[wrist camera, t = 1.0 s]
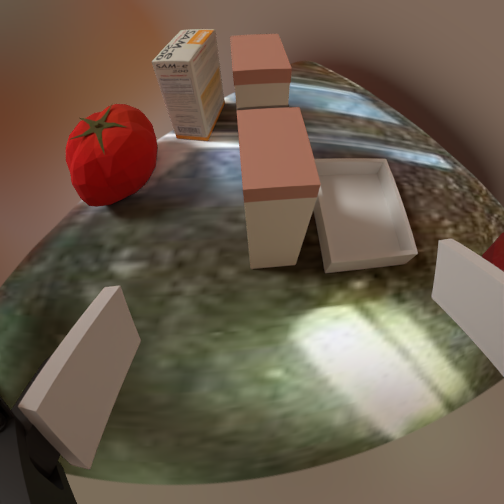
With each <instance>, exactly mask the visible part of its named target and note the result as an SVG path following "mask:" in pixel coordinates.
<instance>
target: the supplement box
mask: <svg viewBox="0 0 504 504" xmlns="http://www.w3.org/2000/svg"><path fill="white" fill-rule="evenodd" d="M152 64H153V67H154V71H155V74H156V77H157V80H158V83H159V86H160V89H161V92H162V95H163V98H164V102H165V104H166V108H167V111H168V114H169V117H170V119H171V122H172V126H173V129H174V131H175V134H176V137H177V138H179V139H192V140H203V141H208V140H209V137H210V135H211V133H212V131H213V128H214V126H215V124H216V122H217V120H218V117H219V115H220V113H221V111H222V108H223V107H224V104H225V101H224V94H223V87H222V79H221V71H220V63H219V56H218V48H217V40H216V32H215V29H193V30H181V31H180V32H179V33H178V34H177V35H176V36H175V37H174V38H173V39H172V41H170V42H169V43H168V45H166V47H165V48H164V49H163V50H162V51H161V52H160V53H159V54H158V56H156V58H155V59H154V60H153V61H152Z"/></svg>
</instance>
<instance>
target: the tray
mask: <svg viewBox="0 0 504 504" xmlns="http://www.w3.org/2000/svg"><path fill="white" fill-rule="evenodd" d="M314 160H315V164H316V168H317V172H318V176H319V180H320V184H321V185H320V189H319V192H318V195H317V199H316V202H315V205H314V208H313V211H314V216H315V221H316V226H317V232H318V237H319V242H320V248H321V253H322V259H323V265H324V271H325V273H333V272H342V271H351V270H360V269H368V268H377V267H385V266H393V265H401V264H406V263H407V262H408V261H410V260H411V259H412V258H413V257H415V256H416V255H417V254H418V252H417V248H416V245H415V241H414V238H413V234H412V231H411V227H410V224H409V221H408V218H407V215H406V212H405V209H404V206H403V203H402V200H401V197H400V194H399V191H398V188H397V186H396V183H395V180H394V178H393V175H392V173H391V170H390V167H389V165H388V162H387V160H386V159H373V158H336V159H314Z"/></svg>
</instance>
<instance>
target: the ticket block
mask: <svg viewBox="0 0 504 504" xmlns="http://www.w3.org/2000/svg"><path fill="white" fill-rule="evenodd" d="M230 38H231V53H232V67H233V78H234V86H235V94H236V105H237V107H236V112H237V110H250V109H266V108H289V105H288V99H289V86H290V83H291V70H292V68H291V66H290V63H289V60H288V58H287V55H286V53H285V50H284V47H283V45H282V42H281V40H280V37H279V35H278V34H256V35H239V36H231V37H230Z"/></svg>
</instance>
